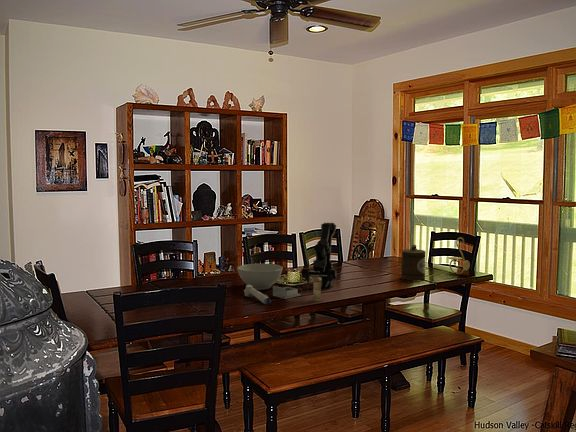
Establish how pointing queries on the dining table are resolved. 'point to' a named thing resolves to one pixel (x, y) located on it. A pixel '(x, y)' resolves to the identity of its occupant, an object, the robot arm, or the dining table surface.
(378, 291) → the dining table surface
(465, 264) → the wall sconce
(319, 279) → the cream cylinder
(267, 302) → the grey pestle
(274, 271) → the decorative bowl
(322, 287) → the robot arm
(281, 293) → the grey rectangular box
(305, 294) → the dining table surface
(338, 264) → the dining table surface
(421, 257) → the wooden container
